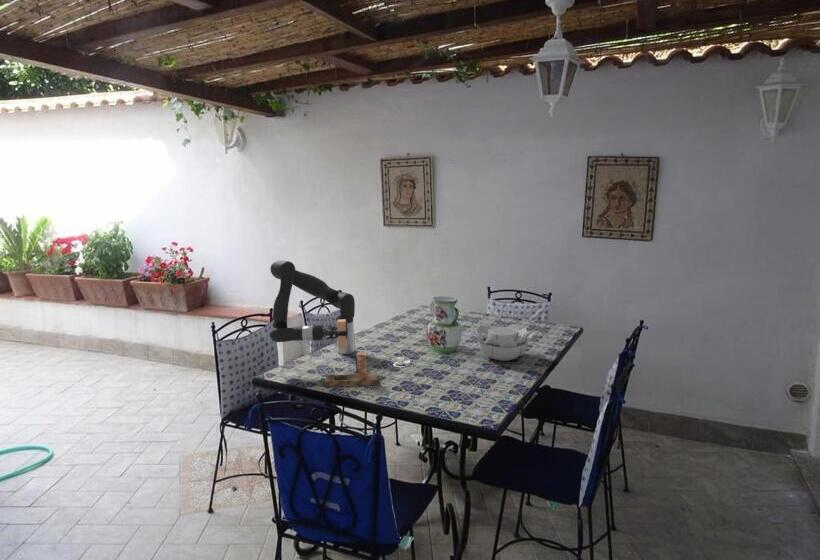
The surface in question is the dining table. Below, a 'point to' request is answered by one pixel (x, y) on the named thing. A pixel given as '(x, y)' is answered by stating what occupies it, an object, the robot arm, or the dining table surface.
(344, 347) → the tall tan pillar block
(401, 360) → the teacup and saucer
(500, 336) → the decorative bowl
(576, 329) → the dining table surface
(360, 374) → the rail
